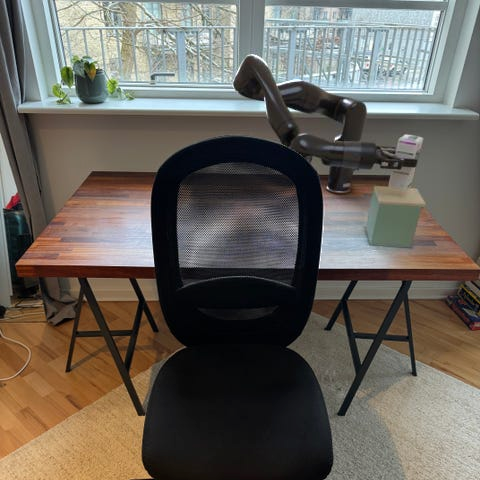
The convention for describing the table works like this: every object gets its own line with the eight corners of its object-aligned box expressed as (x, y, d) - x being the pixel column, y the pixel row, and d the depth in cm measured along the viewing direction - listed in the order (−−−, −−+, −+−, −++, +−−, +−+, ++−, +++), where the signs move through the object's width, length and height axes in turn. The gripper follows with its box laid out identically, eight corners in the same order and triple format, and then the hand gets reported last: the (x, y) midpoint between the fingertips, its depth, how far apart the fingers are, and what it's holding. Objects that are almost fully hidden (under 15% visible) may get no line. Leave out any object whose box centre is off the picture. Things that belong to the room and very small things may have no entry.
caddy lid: (416, 190, 145) (416, 188, 145) (425, 206, 135) (425, 204, 135) (373, 188, 146) (374, 185, 145) (379, 203, 136) (380, 201, 135)
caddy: (403, 230, 153) (413, 190, 145) (410, 247, 143) (422, 206, 135) (365, 227, 154) (373, 188, 146) (370, 245, 144) (379, 203, 136)
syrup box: (406, 191, 135) (419, 141, 127) (386, 187, 138) (398, 137, 129) (411, 186, 139) (424, 137, 130) (392, 181, 142) (404, 133, 133)
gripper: (352, 160, 142) (405, 164, 141) (357, 176, 131) (415, 180, 130) (357, 135, 138) (412, 139, 137) (362, 149, 126) (422, 153, 125)
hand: (413, 159), depth 133 cm, fingers closed on syrup box, 7 cm apart
